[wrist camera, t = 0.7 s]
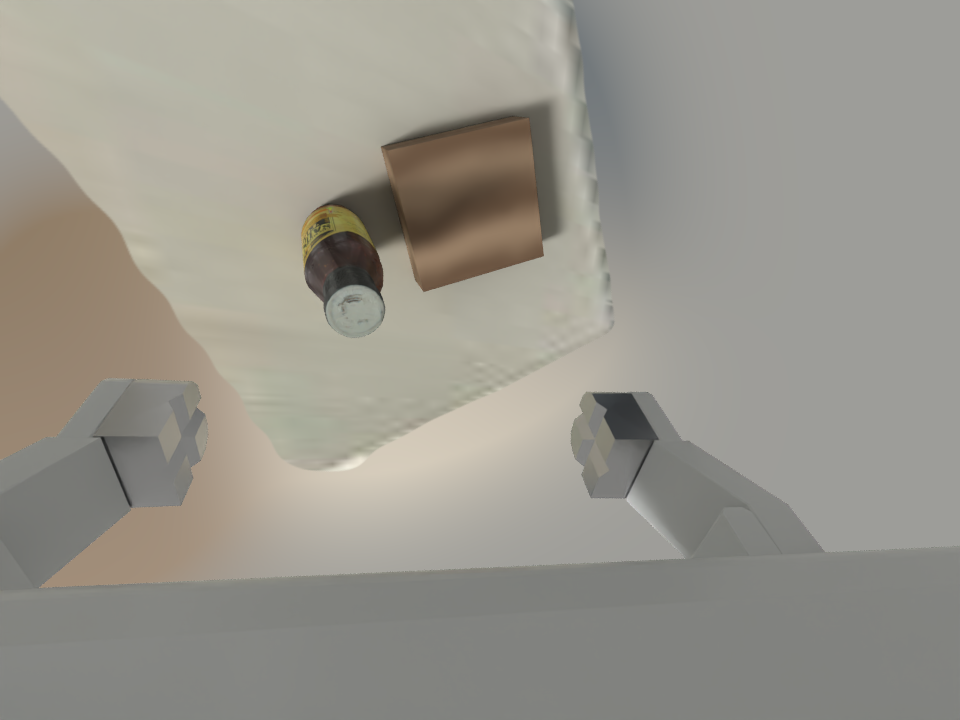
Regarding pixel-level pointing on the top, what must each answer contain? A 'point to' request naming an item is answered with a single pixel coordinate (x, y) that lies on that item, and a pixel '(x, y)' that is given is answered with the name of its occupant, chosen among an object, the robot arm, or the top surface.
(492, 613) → the robot arm
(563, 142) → the top surface
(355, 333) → the sauce bottle
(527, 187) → the block
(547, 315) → the top surface
